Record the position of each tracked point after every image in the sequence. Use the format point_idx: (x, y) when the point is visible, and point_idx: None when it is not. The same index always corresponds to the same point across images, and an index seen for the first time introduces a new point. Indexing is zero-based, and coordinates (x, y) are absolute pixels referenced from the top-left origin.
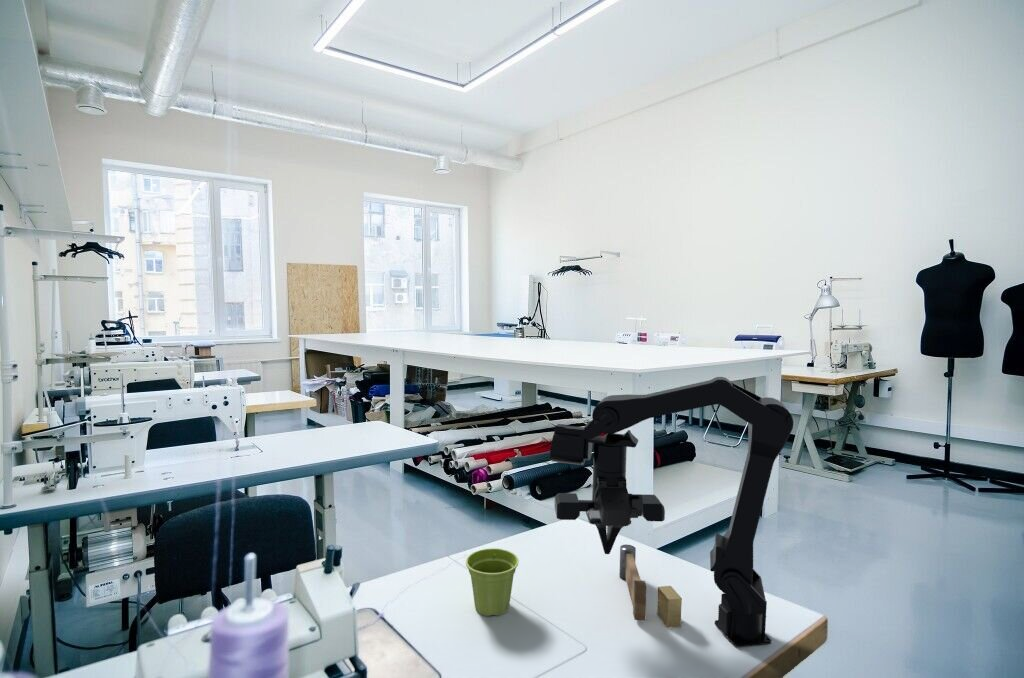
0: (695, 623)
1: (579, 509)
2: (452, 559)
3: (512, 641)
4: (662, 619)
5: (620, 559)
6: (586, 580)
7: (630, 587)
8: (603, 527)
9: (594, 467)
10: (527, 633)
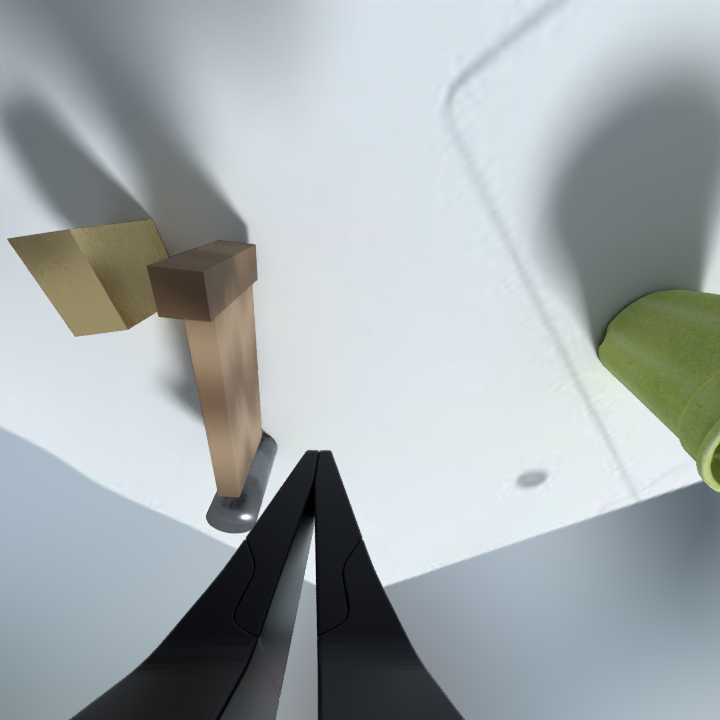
0: None
1: None
2: (637, 497)
3: (678, 154)
4: (165, 258)
5: (264, 485)
6: (362, 434)
7: (249, 378)
8: (349, 669)
9: None
10: (609, 201)
